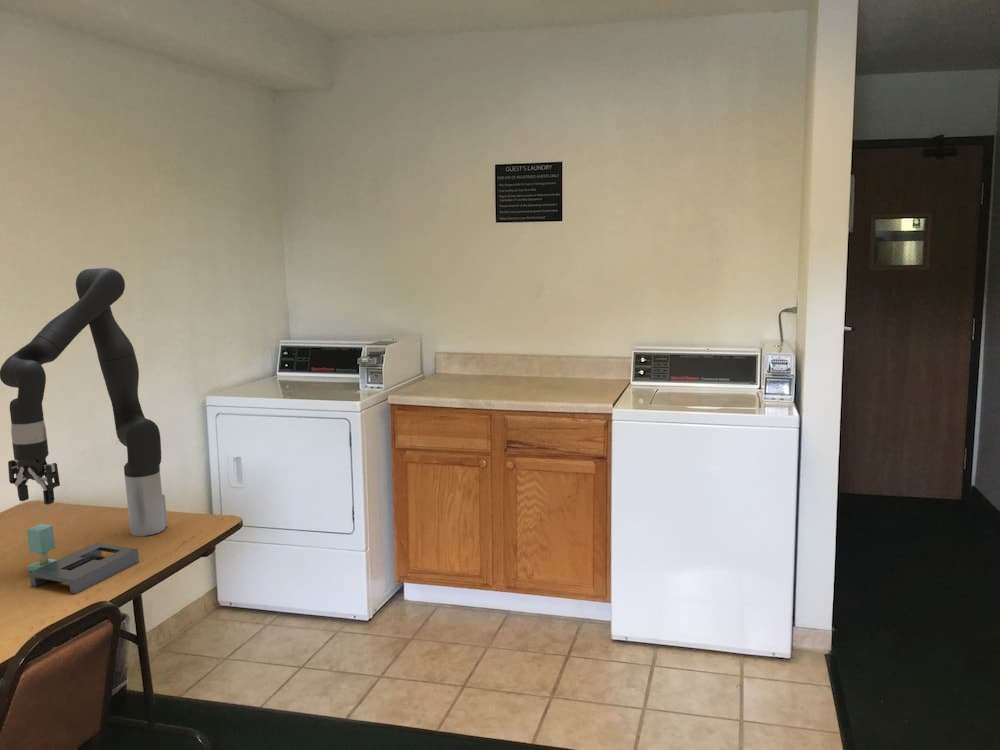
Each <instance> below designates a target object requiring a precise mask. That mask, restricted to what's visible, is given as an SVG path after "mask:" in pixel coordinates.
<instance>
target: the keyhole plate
mask: <svg viewBox="0 0 1000 750" xmlns="http://www.w3.org/2000/svg"><path fill="white" fill-rule="evenodd" d="M102 552H108V553H112V554H110V555H108V556H107V557H105V558H102V559H99V558H101V557H103V556H102ZM139 557H140V556H139V549H138V548H133V547H128V546H127V547H125V546H120V545H113V544H107V543H106V544H105V543H99V542H95V543H92V544H90V545H88V546H86V547H83V548H81V549H79V550H77V551H74V552H72V553H70V554H68V555H65V556H63V557H61V558H59V559H55V560H56V561H54V562H52V563H50V564H47V565H45V566H43V567H41V568H38V569H36V570H34V571H32V572H31V571H29V578H30V586H31V587H34V588H35V587H39V586H40V585H43V584H45V583H47V582H49V581H55V582H61V583H66V584H68V585H69V593H70V594H74V595H76V594H78V593H80V592H82V591H84V590H86V589H88V588H90V587H92V586H95V585H96V584H99V583H100V582H102V581H104V580H106V579H108V578H111V577H112V576H114V575H116V574H118V573H120V572H122V571H124V570H126V569H128V568H130V567H132V566H134V565H136V564H138V563H140V559H139ZM98 559H99V560H98Z"/></svg>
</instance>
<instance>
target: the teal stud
mask: <svg viewBox="0 0 1000 750" xmlns="http://www.w3.org/2000/svg"><path fill="white" fill-rule="evenodd" d="M26 531H27V540H28V547H29V549H28V550H29V552H30V553H33V554H34V553H35V554H38V561H36V562H32V563H31V564H29V565H27V566H28V572H31V571H34V570H36V569H38V568H41V567H43V566H45V565H47V564H50V563H52V562H54V561H56V560H57V559H53V558H49V557H48V556H49V554H48V552H50V551H52V550H54V549H56V543H55V535H54V527H53V525H50V524H43V523H39V524H38V525H34V526H32V527H30V528H27V529H26Z"/></svg>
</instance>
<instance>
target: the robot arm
mask: <svg viewBox="0 0 1000 750" xmlns="http://www.w3.org/2000/svg"><path fill="white" fill-rule="evenodd" d="M125 288H126V282H125V279H124V276H123V275H122V274H121V273H120V272H119V271H118V270H116V269H113V268H109V267H101V268H98V267H97V268H87V269H83V270H82V271H80V272H79V273H78V275H77V276H76V279H75V289H76V293H77V297H78V300H77V301H76V302H74V304H72V306H70V307H69V308H67V309H66V310H64V311H63V312H61V313H59V314H58V315H57V316H55V317H54V318H53V319H51V320H50V321H48V322H47V324H46V325H45V326H44V327H42V328H41V330H40V331H39V332H38V333H37V334H36V335H35V336H34V337H33V338H32V340H31V341H30V342H29V343H27V344H25V345H24V346H23V347H21V348H20V349H18V350H17V351H16V352H14V353H13V354H12V355H10V356H9V357H8V358H7V359H6V360H5V361H4V362H3V364H2V365H1V367H0V380H1V383H3V385H5V386H7V387H10V388H17V389H18V390H17V398H14V399H12V400H11V401H10V402H9V413H10V422H11V425H10V426H11V427H10V428H11V430H10V434H11V435H10V436H11V443H12V451H13V452H12V453H13V459H12V460H8V462H7V467H8V480H9V481H8V482H9V484H12V485H14V486H15V487H16V489H17V496H18V497H17V498H18V501H20V502H25V501H28V500H29V498H30V497H29V488H28V484H27V483H28V482H29V480H30V479H31V480H32V481H35V483H37V484H38V485H39V486H40V487H41V488H42V489H43V491H42V494H43V504H44V505H47V506H48V505H51V504H54V502H55V492H54V490H55V488H57V487H60V485H61V483H60V478H59V477H60V476H59V470H58V464H57V463H56V462H53V463H48V462H47V459H46V458H47V457H48V456H49V453H50V452H49V446H48V445H49V444H48V436H47V427H46V424H45V419H44V418H45V417H44V409H43V400H44V396H45V389H46V383H47V379H46V378H47V377H46V372H45V369H44V367H43V365H44V364H47V363H51V362H54V361H55V360H56V359H58V357H60V355H61V354H62V353H63V352H64V351H65V350H66V348H67V347H68V346H69V345H70V344H71V343H72V341H73V340H74V339H75V338H76V337H77V336H78V335H80V333H81V332H82V331H83V330H84V329H85V328H87V326H89V329H90V332H91V336H92V339H93V344H94V346H95V351H96V353H97V358H98V363H99V365H100V370H101V374H102V376H103V380H104V382H105V386H106V390H107V393H108V397H109V400H110V401H111V407H112V412H113V413H112V414H113V418H114V425H115V433H116V437H117V439H118V441H119V442H120V443H121V444H122V445H123V446H124V447H126V452H127V462H126V463H125V464H124V466H123V471H124V482H125V483H124V484H125V493H126V501H127V504H126V505H127V512H128V513H127V514H128V522H129V524H128V525H129V533H130V534H131V536H135V537H147V536H152V535H156V533H157V534H159V533H162V532H163V531H165V529H166V528H167V527H168V526H169V525H168V518H167V506H166V496H165V494H163V490H162V480H161V478H162V477H161V467H160V466H161V462H162V443H161V442H162V441H161V433H160V428H159V426H158V425H157V424H156V422H154V421H153V420H151V419H148V418H146V417H145V414H144V412H143V409H142V406H141V403H140V399H139V378H140V370H139V364H138V360H137V356H136V352H135V348H134V346H133V344H132V343H131V340H130V339H129V338H128V336H127V335H126V333H125V332H124V330H123V329H122V328H121V327H120V325H119V324H118V323H117V321H116V319H115V316H114V315H113V310H112V307H111V306H112V305H113V304H114V303H115V302H117V301H118V300H119V299H120V298H121V297H122V295H123V294H124V292H125ZM166 526H167V527H166ZM161 531H162V532H161Z"/></svg>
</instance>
